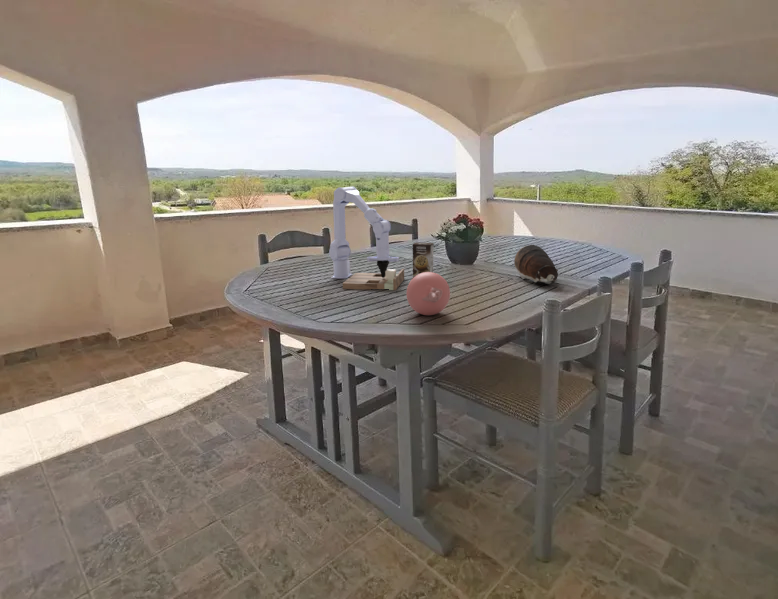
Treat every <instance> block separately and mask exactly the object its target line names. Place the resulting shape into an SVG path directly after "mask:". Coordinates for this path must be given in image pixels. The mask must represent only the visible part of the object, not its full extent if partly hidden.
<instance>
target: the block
mask: <svg viewBox="0 0 778 599" xmlns="http://www.w3.org/2000/svg"><path fill="white" fill-rule="evenodd" d="M385 274H386V280H393V279H394V277H395V276H396V274H397V269H392V268H391V269H390V268H389V269H388V268H387V270H386V271H385Z"/></svg>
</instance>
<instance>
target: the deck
mask: <svg viewBox="0 0 778 599" xmlns="http://www.w3.org/2000/svg"><path fill="white" fill-rule="evenodd" d="M404 280H405V268H401V269H400V270H399V272H398V273H396V276H395V277H394V279H393V280H386V274H385V277H384V278H382V275H381V272H379V273H377V272H376V273H374V272H372V273H369V272H355V273H354V274H352V275H351V276H349V277H348V278H347V279H346V280H345V281H343V282H342V289H343V290H371V289H389V290H388V291H397V289H398V288H399V286H401V284H402V283H403V281H404Z"/></svg>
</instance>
